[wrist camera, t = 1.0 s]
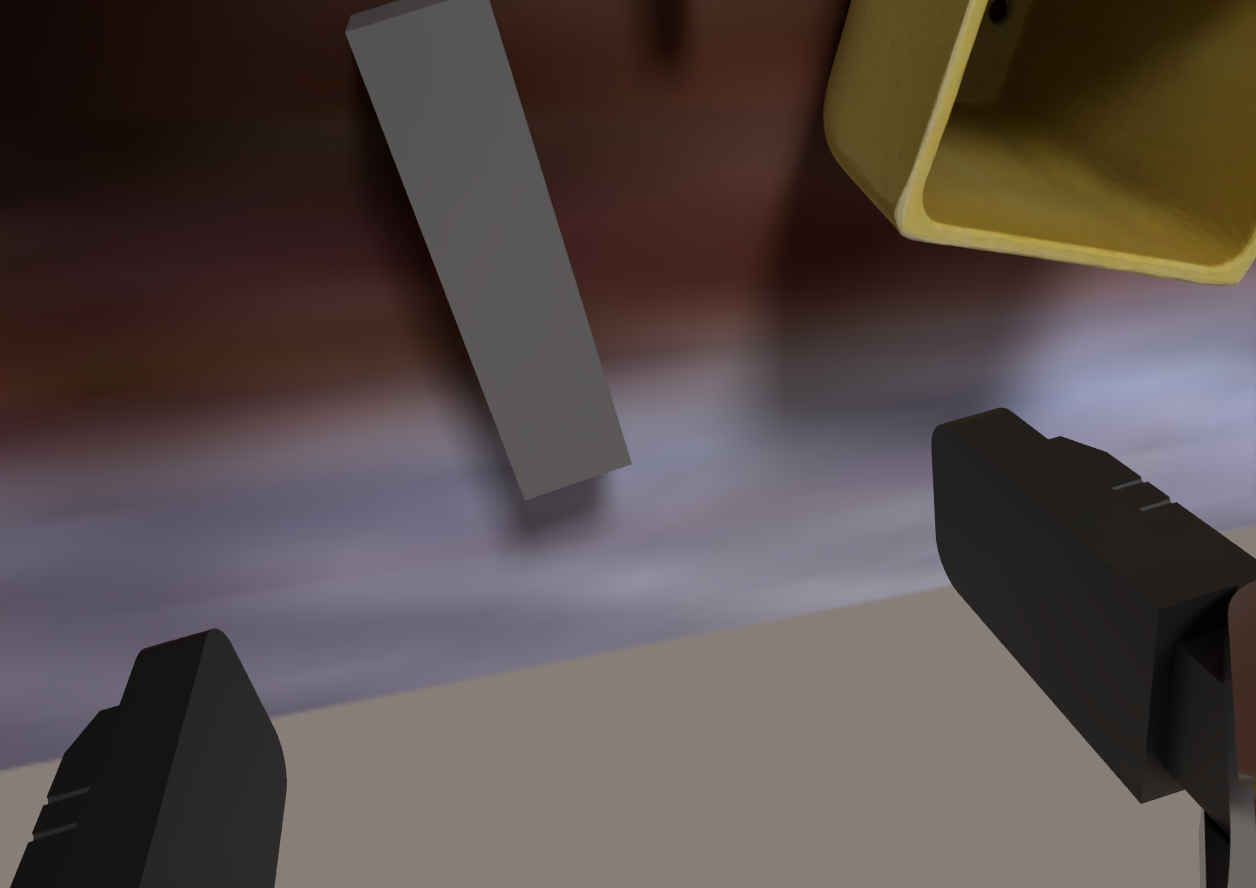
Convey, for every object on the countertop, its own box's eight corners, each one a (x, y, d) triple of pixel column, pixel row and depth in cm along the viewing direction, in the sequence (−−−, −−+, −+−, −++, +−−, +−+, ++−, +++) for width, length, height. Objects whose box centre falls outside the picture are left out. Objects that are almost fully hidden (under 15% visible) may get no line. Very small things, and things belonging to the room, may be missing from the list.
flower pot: (1019, 192, 29) (1246, 294, 21) (747, 144, 27) (893, 239, 19) (1144, -146, 25) (1476, -169, 18) (840, -238, 23) (1072, -312, 15)
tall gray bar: (351, 14, 23) (344, 32, 20) (471, -23, 24) (485, -12, 20) (508, 432, 30) (524, 500, 26) (603, 399, 30) (631, 464, 26)
